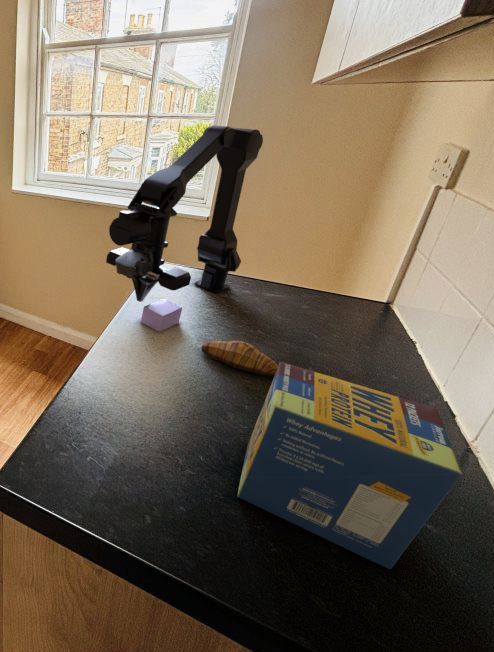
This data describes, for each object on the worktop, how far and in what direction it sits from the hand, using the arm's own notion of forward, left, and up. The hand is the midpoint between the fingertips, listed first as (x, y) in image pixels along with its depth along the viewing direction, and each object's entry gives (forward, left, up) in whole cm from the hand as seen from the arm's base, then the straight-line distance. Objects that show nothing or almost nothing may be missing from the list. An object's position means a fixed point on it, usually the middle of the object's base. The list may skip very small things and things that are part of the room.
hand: (139, 300), depth 94 cm
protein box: (+22, +44, -3) cm, 49 cm away
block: (0, +6, -3) cm, 7 cm away
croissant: (+1, +24, -3) cm, 24 cm away
